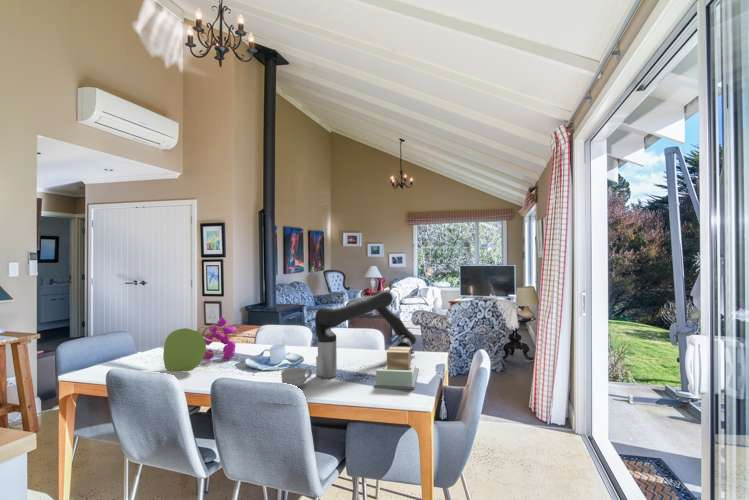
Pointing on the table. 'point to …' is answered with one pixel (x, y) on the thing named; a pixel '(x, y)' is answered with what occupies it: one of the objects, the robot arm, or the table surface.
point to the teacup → (295, 376)
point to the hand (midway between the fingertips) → (400, 354)
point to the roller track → (396, 378)
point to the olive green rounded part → (195, 347)
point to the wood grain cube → (399, 358)
